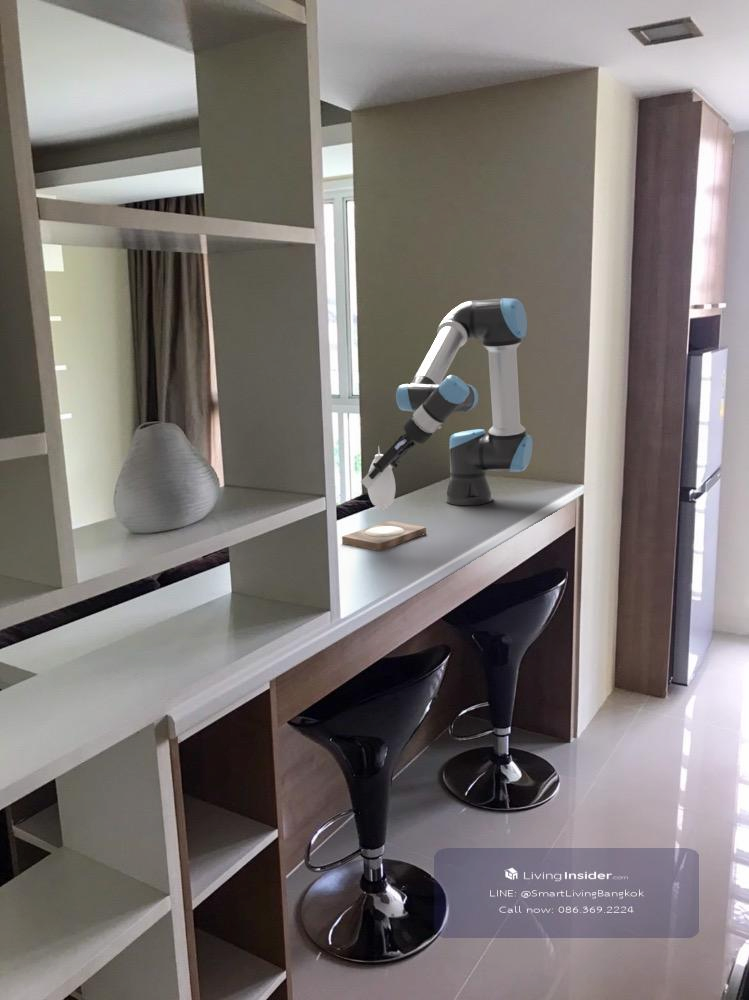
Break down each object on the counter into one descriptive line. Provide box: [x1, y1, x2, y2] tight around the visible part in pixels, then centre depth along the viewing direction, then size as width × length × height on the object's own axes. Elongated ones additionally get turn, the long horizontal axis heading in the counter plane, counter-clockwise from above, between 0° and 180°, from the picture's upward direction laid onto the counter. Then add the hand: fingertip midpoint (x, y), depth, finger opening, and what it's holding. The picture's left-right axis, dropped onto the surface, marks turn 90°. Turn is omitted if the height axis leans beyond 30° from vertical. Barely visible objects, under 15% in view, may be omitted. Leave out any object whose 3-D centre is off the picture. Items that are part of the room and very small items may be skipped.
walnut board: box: [341, 520, 427, 552], centre depth 235 cm, size 20×14×2 cm
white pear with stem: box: [367, 445, 397, 510], centre depth 230 cm, size 8×8×18 cm
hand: (369, 482), depth 232 cm, fingers closed on white pear with stem, 7 cm apart
